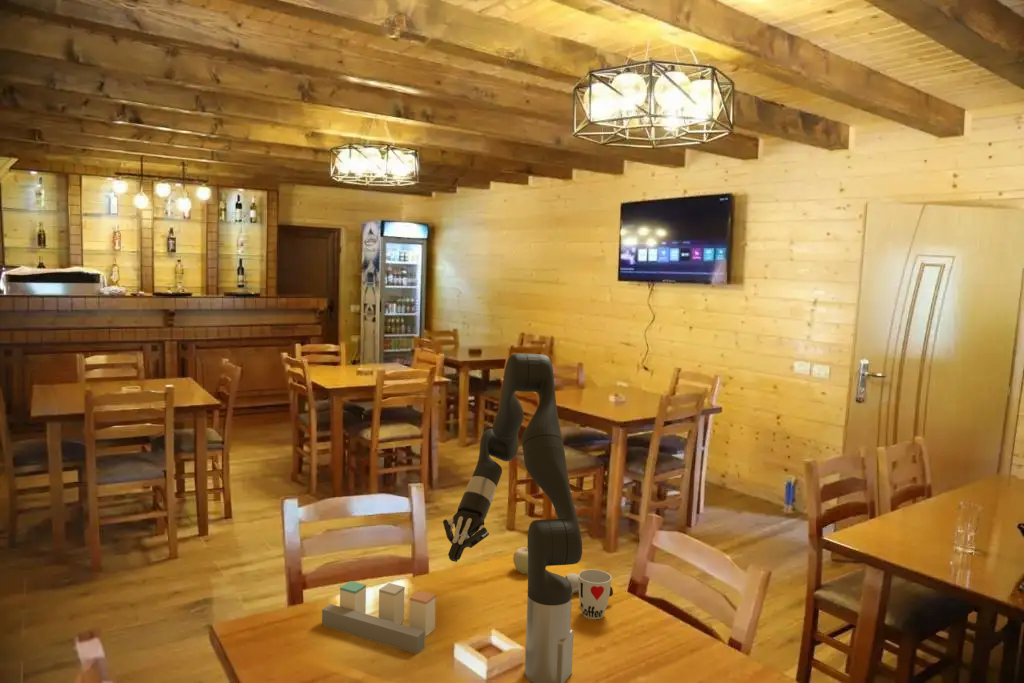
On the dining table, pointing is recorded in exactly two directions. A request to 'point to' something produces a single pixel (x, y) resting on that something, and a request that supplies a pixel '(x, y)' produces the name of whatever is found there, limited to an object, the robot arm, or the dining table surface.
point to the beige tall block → (391, 603)
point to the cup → (594, 592)
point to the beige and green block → (353, 596)
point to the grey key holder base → (374, 628)
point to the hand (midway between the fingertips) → (452, 560)
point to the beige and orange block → (422, 612)
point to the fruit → (521, 560)
